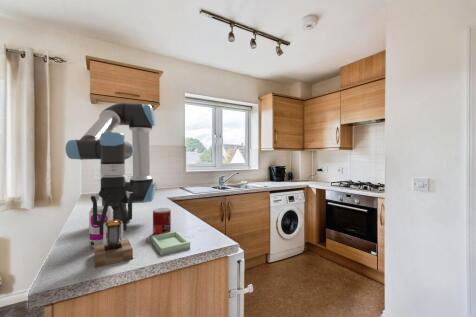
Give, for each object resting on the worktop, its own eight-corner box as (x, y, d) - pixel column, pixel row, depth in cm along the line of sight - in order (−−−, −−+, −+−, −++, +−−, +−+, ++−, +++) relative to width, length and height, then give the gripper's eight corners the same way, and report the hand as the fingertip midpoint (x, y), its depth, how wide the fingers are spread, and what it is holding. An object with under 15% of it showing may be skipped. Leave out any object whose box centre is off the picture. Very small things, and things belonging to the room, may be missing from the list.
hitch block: (94, 255, 80) (94, 245, 80) (128, 248, 86) (128, 239, 86) (94, 267, 70) (94, 256, 70) (132, 258, 77) (132, 248, 77)
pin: (105, 254, 79) (105, 220, 79) (120, 251, 81) (119, 218, 81) (106, 259, 75) (106, 224, 75) (121, 255, 78) (121, 221, 78)
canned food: (165, 236, 98) (165, 211, 99) (149, 235, 100) (149, 211, 100) (173, 231, 106) (173, 208, 106) (158, 230, 108) (158, 207, 108)
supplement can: (108, 247, 86) (108, 209, 86) (85, 249, 85) (85, 210, 85) (116, 240, 94) (116, 205, 95) (95, 241, 93) (95, 205, 93)
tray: (151, 241, 93) (151, 235, 93) (176, 236, 99) (176, 231, 99) (161, 254, 79) (161, 248, 79) (190, 248, 86) (190, 242, 86)
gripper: (82, 178, 70) (82, 251, 70) (141, 175, 80) (142, 240, 80) (83, 176, 77) (83, 244, 77) (138, 174, 86) (138, 234, 86)
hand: (113, 241), depth 78 cm, fingers closed on pin, 4 cm apart
